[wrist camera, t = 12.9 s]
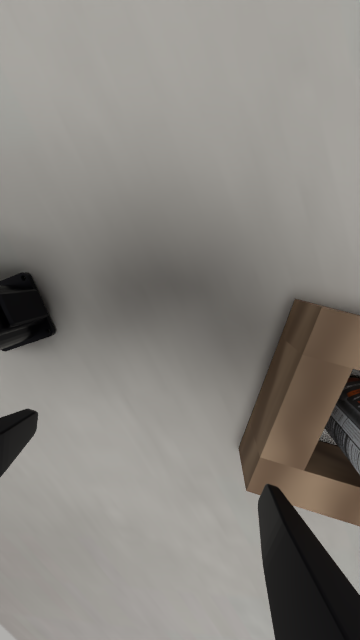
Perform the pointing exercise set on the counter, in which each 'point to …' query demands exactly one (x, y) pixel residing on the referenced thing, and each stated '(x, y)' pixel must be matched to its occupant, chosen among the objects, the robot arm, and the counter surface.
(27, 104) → the counter surface
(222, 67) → the counter surface
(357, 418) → the supplement bottle
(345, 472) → the walnut well
